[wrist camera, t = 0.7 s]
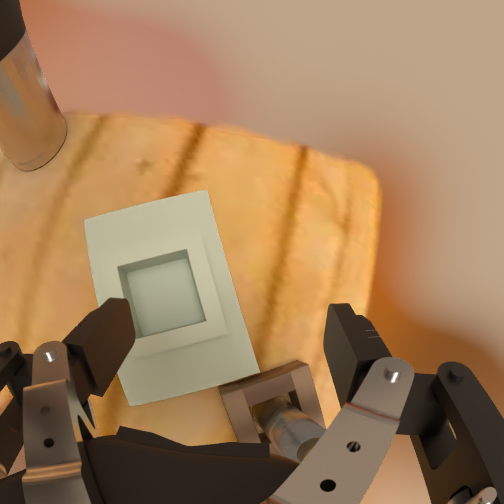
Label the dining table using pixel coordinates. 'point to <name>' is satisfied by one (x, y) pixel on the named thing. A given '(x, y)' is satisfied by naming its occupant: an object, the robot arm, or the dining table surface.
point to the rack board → (171, 296)
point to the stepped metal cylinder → (287, 427)
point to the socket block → (267, 387)
